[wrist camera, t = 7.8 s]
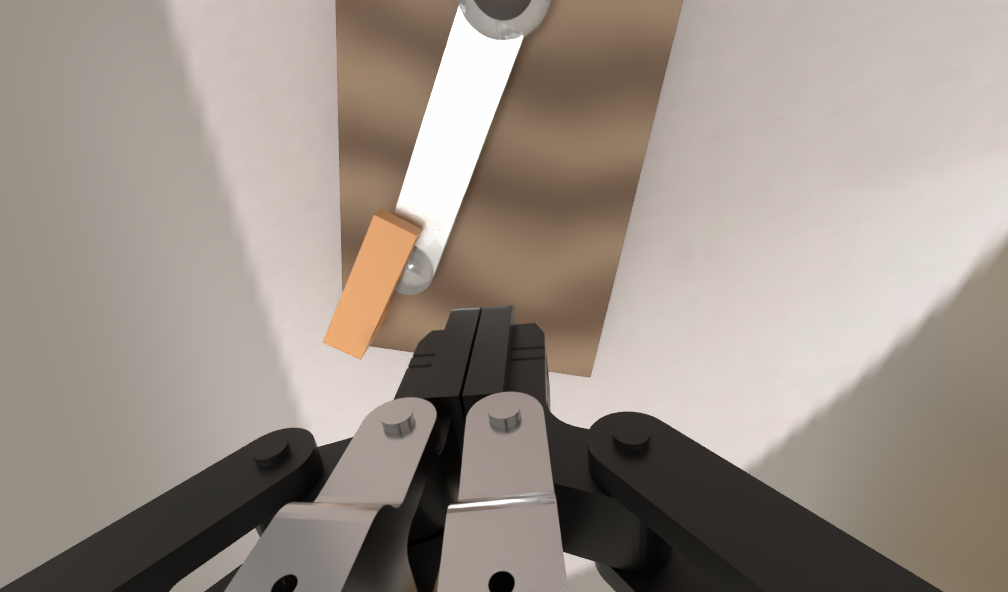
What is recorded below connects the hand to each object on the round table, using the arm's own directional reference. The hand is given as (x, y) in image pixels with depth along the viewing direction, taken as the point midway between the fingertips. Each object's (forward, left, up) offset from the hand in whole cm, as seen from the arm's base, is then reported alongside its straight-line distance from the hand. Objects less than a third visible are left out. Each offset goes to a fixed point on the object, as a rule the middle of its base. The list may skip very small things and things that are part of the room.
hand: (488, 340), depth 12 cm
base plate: (0, -2, -19) cm, 19 cm away
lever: (-2, -4, -17) cm, 18 cm away
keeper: (+6, -7, -17) cm, 20 cm away
